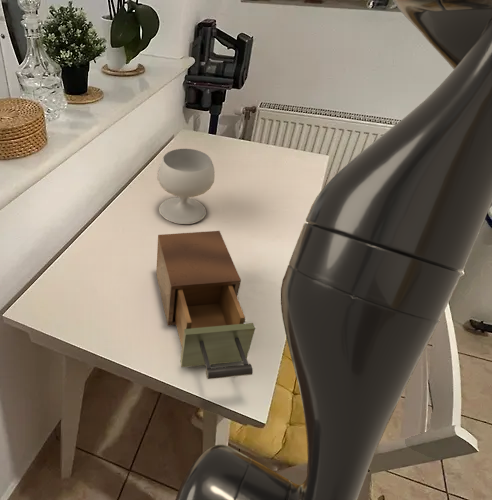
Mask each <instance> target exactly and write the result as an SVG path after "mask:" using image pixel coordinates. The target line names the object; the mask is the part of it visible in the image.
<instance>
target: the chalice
mask: <svg viewBox="0 0 492 500" xmlns="http://www.w3.org/2000/svg"><path fill="white" fill-rule="evenodd" d="M215 172H216V171H215V166H214V163H213V161H212V159H211V157H210V156H209V154H207V153H205V152H203V151H201V150H197V149H193V148H176V149H172V150H170V151H168V152H167V153H165V154H164V156H163V157H162V158H161V159H160V162H159V165H158V167H157V176H156V178H157V181H158V184H159V185H160V187H161V188H162V189H163V190H164V191H165V192H167V193H168V194H170V195H173V196H175V197H171V198H168V199H166V200H164V201H163V202H161V204H160V205H159V207H158V208H159V214H160V215H161V216H162V217H163V218H164V219H165V220H167V221H169V222H171V223H175V224H179V225H190V224H195V223H198V222H200V221H202V220H203V219H204V218H205V216H206V214H207V211H206V208H205V206H204V204H202V203H201V202H200V201H198V200H196V199H194V198H195V197H199V196H202V195H204V194H205V193H207V192H209V190H210V189H211V188H212V186H213V185H214V183H215V177H216V176H215V175H216V174H215Z"/></svg>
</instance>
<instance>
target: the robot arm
mask: <svg viewBox="0 0 492 500" xmlns="http://www.w3.org/2000/svg"><path fill="white" fill-rule="evenodd" d="M392 2H393V3H394V5H395V6H396V7H397V8H398V10H399V11H400V12H401V13H402V15H403V16H404V17H405V18H406V19H407V20H408V21H409V22H410V23H411V24H412V25H413V26H414V27H415V28H416V30H417V31H419V33H421V34H422V36H423V37H424V38H425V39H426V41H427V42H428V43H429V44H430V45H431V46H432V47H433V49H434V50H435V51H437V53H439V55H440V56H441V57H442V59H444V60H445V62H447V64H448V65H449V66H450V67H451V69H453V70H452V71H451V73H450V74H449V75H447V77H446V78H445V79H444V80H443V81H442V82H441V83H440V84H439V86H438V87H436V89H434V90H433V91H432V93H430V94H429V95H428V96H427V97H426V98H425V99H424V100H423V101H422V102H421V103H420V104H418V105H417V106H416V107H415V108H414V109H413V110H412V111H410V112H409V113H408V114H407V115H406V116H404V117H403V118H402V119H401V120H400V121H398V122H397V123H395V124H394V125H393V126H392V127H390V129H388V130H387V131H385V132H384V133H383V134H382V135H381V136H380V137H378V138H377V139H376V140H375V141H373V142H372V143H370V144H369V145H368V146H367V147H366V148H364V149H363V150H362V151H361V152H360V153H359V154H357V155H356V156H355V157H354V158H353V159H352V160H351V161H350V162H348V163H347V164H346V165H345V166H343V168H342V169H341V170H340V169H339V171H338V172H337V173H336V174H335V175H334V176H333V177H332V178H331V179H330V180H329V181H328V182H327V184H325V185H324V187H323V188H322V189H321V191H320V192H319V193H318V194H317V195H316V197H315V199H314V200H313V202H312V204H311V206H310V208H309V210H308V214H307V216H306V218H305V223H303V226H302V228H301V231H300V233H299V236H298V238H297V241H296V244H295V247H294V249H293V252H292V254H291V256H290V258H289V261H288V265H287V267H286V270H285V273H284V276H283V278H282V282H281V287H280V308H281V316H282V323H283V328H284V331H285V338H286V342H287V347H288V350H289V354H290V358H291V363H292V365H293V370H294V374H295V377H296V381H297V385H298V391H299V395H300V400H301V405H302V411H303V412H302V413H303V420H304V427H305V435H306V452H307V455H306V456H307V461H306V463H307V465H306V478H305V480H304V482H302V483H301V484H298V483H295V482H293V481H292V480H289V478H286V477H285V476H283V475H281V474H279V473H277V472H276V471H274V470H272V469H271V468H269V467H266V466H265V465H263V464H261V463H260V462H259V461H256V460H254V459H253V458H251V457H249V456H248V455H245V454H244V453H242V452H240V451H238V450H236V449H235V448H233V447H232V446H229V445H226V444H215V445H213V446H210V447H209V448H207V449H205V450H203V451H202V452H201V454H199V456H198V457H196V459H195V460H194V461H193V463H192V464H191V466H190V467H189V469H188V470H187V472H186V473H185V476H184V477H183V479H182V482H181V483H180V486H179V489H178V491H177V494H176V496H175V499H174V500H358V499H359V496H360V493H361V490H362V487H363V485H364V482H365V480H366V478H367V475H368V472H369V470H370V466H371V465H372V462H373V459H374V457H375V454H376V452H377V449H378V447H379V445H380V442H381V440H382V439H383V438H382V437H383V436H384V433H385V431H386V429H387V427H388V424H389V423H390V420H391V418H392V416H393V414H394V412H395V410H396V409H397V406H398V404H399V401H400V400H401V398H402V396H403V394H404V392H405V390H406V388H407V386H408V384H409V382H410V380H411V378H412V376H413V374H414V372H415V370H416V368H417V366H418V365H419V363H420V361H421V358H422V357H423V355H424V352H426V349H427V347H428V344H429V343H430V341H431V339H432V337H433V335H434V333H435V331H436V329H437V328H438V326H439V323H440V320H442V318H443V315H444V313H445V311H446V309H447V307H448V304H449V303H450V301H451V298H452V296H453V294H454V292H455V290H456V288H457V285H458V283H459V280H460V279H461V276H462V272H463V271H464V270H465V268H466V266H467V263H468V260H469V257H470V255H471V253H472V251H473V248H474V245H475V243H476V241H477V239H478V236H479V234H480V232H481V229H482V226H483V225H484V221H485V219H486V217H487V215H488V213H489V210H490V209H491V208H492V0H392Z"/></svg>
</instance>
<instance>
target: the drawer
mask: <svg viewBox="0 0 492 500" xmlns="http://www.w3.org/2000/svg"><path fill="white" fill-rule="evenodd" d="M173 313H174V317H175V321H176V325H175V326H176V329H177V333H178V334H177V335H178V337H179V342H180V345H181V353H180V359H179V360H180V361H179V363H180V366H181V368H187V367H189V368H190V367H199V366H205V368H206V369H205V376H206V379H207V380H213V379H223V378H224V379H225V378H233V377H243V376H252V375H253V372H254V370H253V369H254V368H253V366H252V364H250V363H249V362H248V359H247V358H248V355H249V352H250V348H251V345H252V341H253V338H254V334H255V330H256V327H255V325H254V323H253V322H247V323H246V322H245V320H246V316H245V314H244V311H243V308H242V306H241V304H240V301H239V298H238V296H236V293H235V291H234V289H233V286H232V285H221V286H209V287H196V288H184V289H176V291H175V301H174V312H173ZM237 362H238V363H239V362H242V364H237V365H226V366H216V367H211V365H217V364H227V363H229V364H230V363H237Z"/></svg>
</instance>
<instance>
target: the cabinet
mask: <svg viewBox="0 0 492 500" xmlns="http://www.w3.org/2000/svg"><path fill="white" fill-rule="evenodd" d="M156 250H157V251H156V269H155V274H156V280H157V283H158V288H159V292H160V297H161V301H162V302H161V303H162V306H163V310H164V315H165V320H166V323H167V326H168V327H169V326H176V321H175V317H174V313H173V312H174V301H175V291H176V289H184V288H196V287H209V286H221V285H232V286H233V289H234V291H235V293H236V296H237V297H238V295H239V291H240V287H241V283H242V279H241V277H240V275H239V273H238V271H237V268H236V266H235V264H234V261H233V258H232V256H231V254H230V252H229V250H228V247H227V245H226V242H225V240H224V238H223V236H222V234H221V231H220V230H209V231H193V232H182V233H180V232H177V233H165V234H164V233H163V234H157V249H156Z"/></svg>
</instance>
